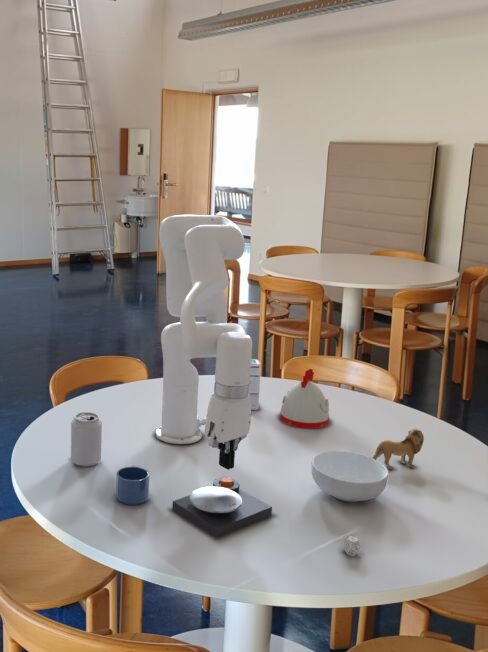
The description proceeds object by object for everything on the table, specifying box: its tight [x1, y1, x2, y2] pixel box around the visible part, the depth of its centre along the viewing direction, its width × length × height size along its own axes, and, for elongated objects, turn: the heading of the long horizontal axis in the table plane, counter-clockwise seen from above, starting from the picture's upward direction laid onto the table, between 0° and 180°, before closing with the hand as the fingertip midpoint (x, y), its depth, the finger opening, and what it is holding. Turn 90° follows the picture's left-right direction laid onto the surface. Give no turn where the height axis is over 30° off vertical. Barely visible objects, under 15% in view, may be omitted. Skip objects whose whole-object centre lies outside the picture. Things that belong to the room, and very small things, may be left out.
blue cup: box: [115, 466, 151, 506], centre depth 157 cm, size 7×7×6 cm
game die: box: [342, 535, 362, 557], centre depth 139 cm, size 4×4×3 cm
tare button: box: [220, 476, 234, 487], centre depth 159 cm, size 3×3×1 cm
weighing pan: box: [189, 486, 242, 513], centre depth 151 cm, size 11×11×1 cm
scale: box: [171, 477, 273, 539], centre depth 153 cm, size 16×14×4 cm
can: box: [70, 411, 103, 467], centre depth 175 cm, size 8×8×12 cm
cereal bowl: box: [311, 450, 389, 503], centre depth 162 cm, size 17×17×7 cm
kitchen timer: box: [279, 368, 330, 429], centre depth 208 cm, size 14×14×15 cm
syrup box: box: [249, 358, 261, 411], centre depth 217 cm, size 6×6×14 cm
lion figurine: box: [372, 428, 425, 470], centre depth 179 cm, size 15×5×9 cm, turn 110°
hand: (226, 466), depth 159 cm, fingers closed
